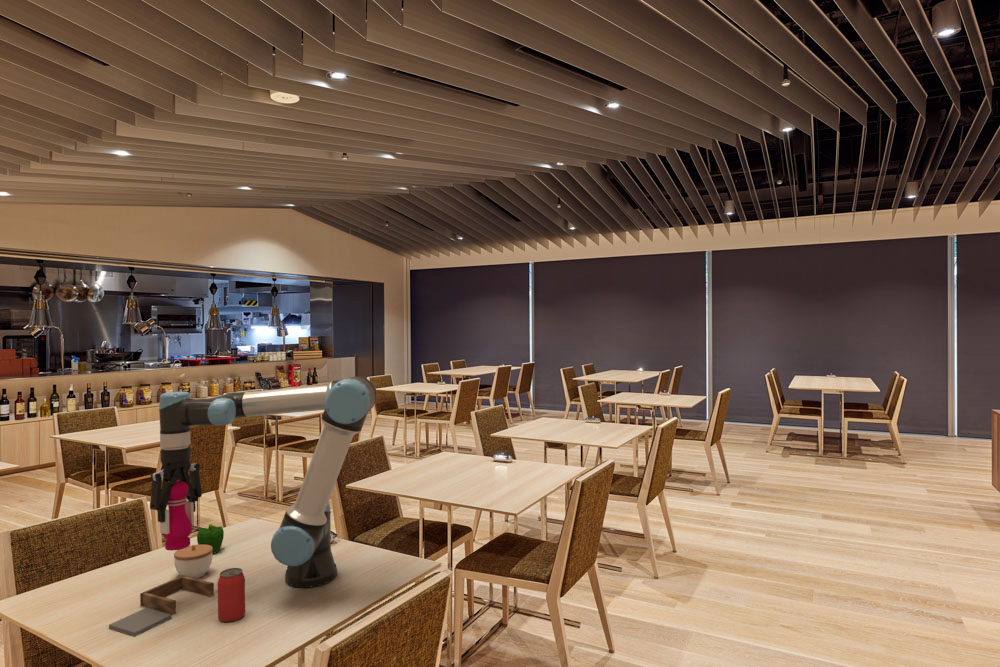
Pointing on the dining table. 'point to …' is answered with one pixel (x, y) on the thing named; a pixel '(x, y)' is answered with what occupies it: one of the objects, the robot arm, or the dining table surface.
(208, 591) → the u-shaped frame
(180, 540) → the pepper mill
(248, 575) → the dining table surface
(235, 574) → the beer can
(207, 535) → the bell pepper
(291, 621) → the dining table surface
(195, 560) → the lidded jar
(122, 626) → the coaster
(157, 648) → the dining table surface
